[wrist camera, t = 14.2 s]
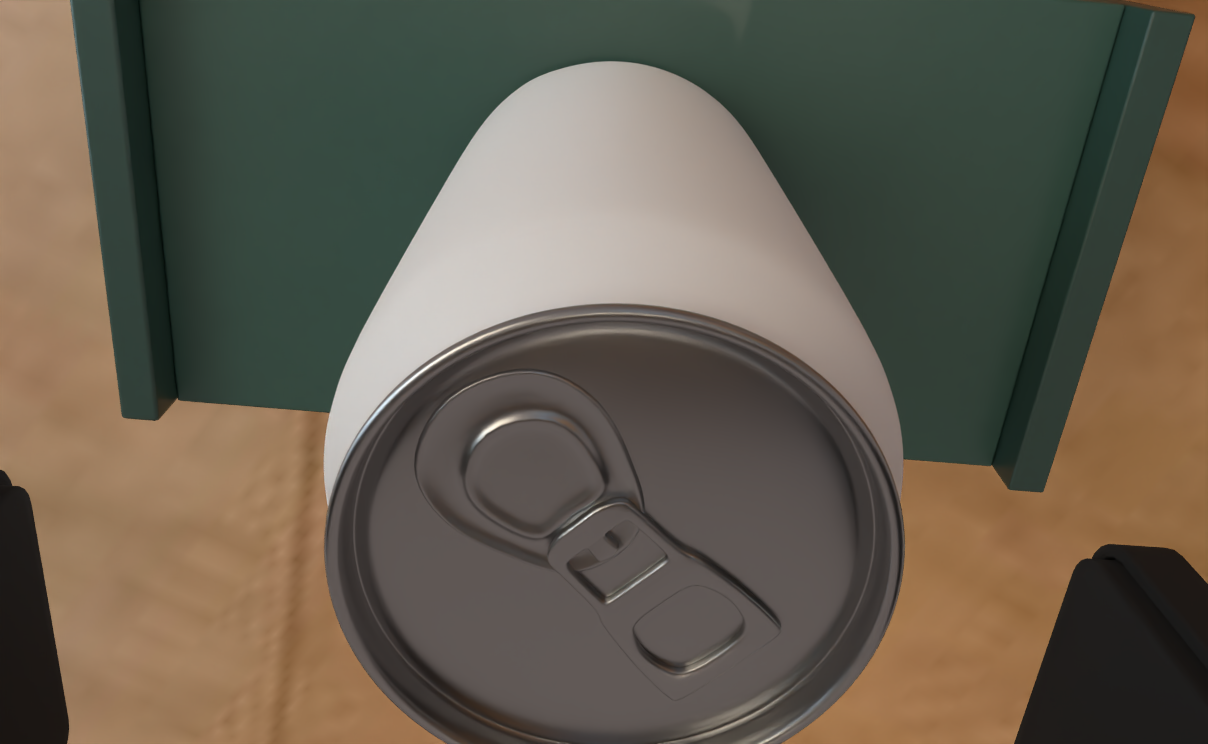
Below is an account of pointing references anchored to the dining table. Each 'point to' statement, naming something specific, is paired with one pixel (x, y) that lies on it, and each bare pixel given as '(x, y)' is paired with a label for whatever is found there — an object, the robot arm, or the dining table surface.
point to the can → (613, 439)
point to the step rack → (680, 46)
